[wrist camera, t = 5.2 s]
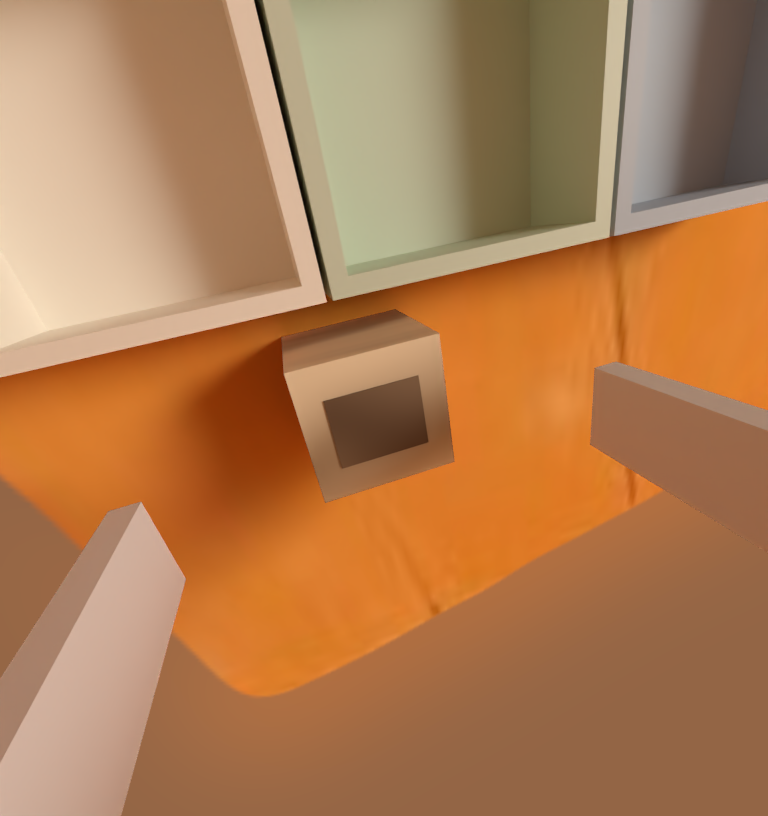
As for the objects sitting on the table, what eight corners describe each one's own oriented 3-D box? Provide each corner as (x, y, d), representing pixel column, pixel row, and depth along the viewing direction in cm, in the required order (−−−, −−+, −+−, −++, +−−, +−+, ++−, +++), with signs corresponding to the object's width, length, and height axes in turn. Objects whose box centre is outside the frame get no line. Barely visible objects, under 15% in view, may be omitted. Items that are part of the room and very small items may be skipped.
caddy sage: (233, -61, 11) (212, -218, 7) (534, -82, 12) (644, -221, 9) (318, 287, 15) (333, 300, 11) (534, 238, 17) (609, 237, 13)
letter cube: (281, 336, 16) (283, 373, 11) (394, 308, 16) (439, 333, 12) (313, 439, 18) (325, 505, 13) (412, 410, 19) (455, 463, 14)
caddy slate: (539, -82, 12) (652, -221, 9) (772, -98, 14) (952, -222, 10) (538, 237, 17) (614, 236, 13) (717, 198, 18) (829, 186, 15)
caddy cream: (-177, -31, 9) (-482, -217, 6) (226, -60, 11) (201, -219, 7) (47, 347, 14) (-39, 386, 10) (314, 288, 15) (327, 302, 11)
